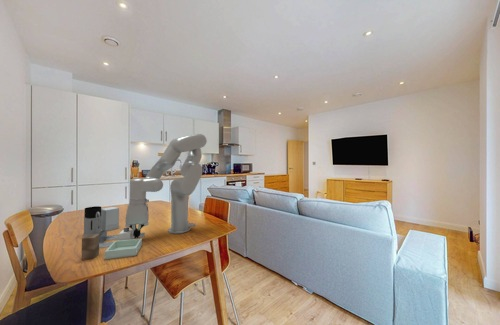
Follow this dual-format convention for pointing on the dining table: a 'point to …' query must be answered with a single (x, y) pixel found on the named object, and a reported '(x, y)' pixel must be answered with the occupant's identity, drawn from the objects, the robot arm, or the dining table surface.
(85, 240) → the stop block
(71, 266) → the dining table surface
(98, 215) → the glass holder
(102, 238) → the piston rail
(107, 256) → the tray
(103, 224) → the supplement box
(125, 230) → the block
